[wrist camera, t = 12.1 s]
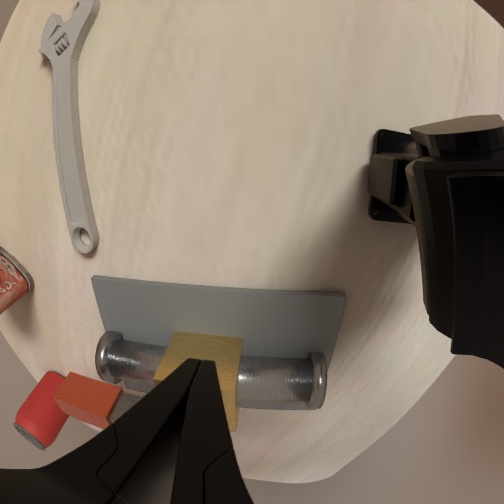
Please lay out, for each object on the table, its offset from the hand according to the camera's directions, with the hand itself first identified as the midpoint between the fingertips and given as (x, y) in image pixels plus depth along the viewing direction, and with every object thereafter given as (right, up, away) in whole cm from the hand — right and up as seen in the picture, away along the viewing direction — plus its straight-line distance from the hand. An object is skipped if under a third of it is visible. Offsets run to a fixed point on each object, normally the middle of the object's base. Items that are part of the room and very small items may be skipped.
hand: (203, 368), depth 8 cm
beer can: (-27, -17, +23) cm, 40 cm away
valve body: (-2, -6, +17) cm, 18 cm away
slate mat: (-2, -6, +17) cm, 18 cm away
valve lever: (-8, -8, +11) cm, 16 cm away
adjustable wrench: (-14, +16, +9) cm, 23 cm away
